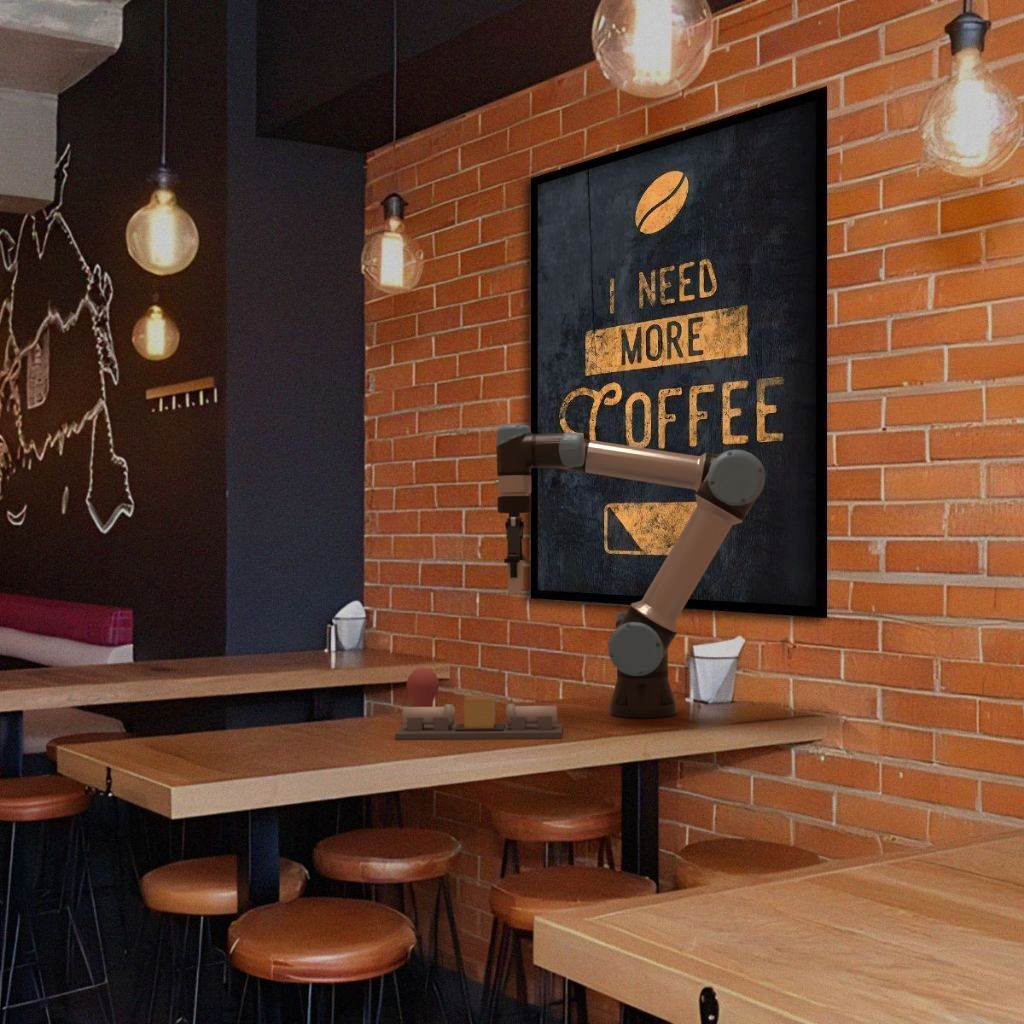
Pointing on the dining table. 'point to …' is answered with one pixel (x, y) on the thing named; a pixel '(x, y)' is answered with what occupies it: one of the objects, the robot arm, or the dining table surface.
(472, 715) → the block
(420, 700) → the light bulb
